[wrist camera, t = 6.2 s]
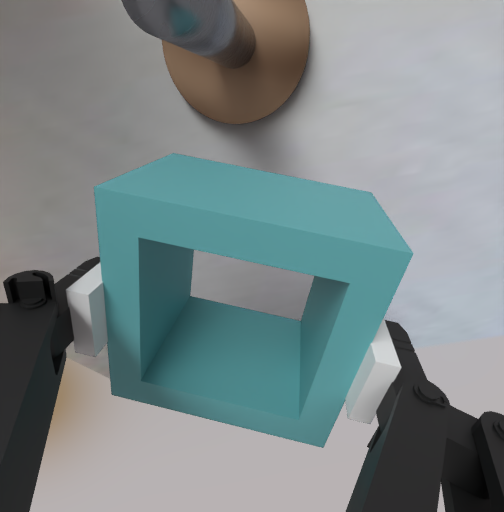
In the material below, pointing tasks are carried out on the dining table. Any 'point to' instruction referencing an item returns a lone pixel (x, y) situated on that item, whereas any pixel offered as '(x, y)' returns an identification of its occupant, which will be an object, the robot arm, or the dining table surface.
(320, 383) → the collar
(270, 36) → the post base
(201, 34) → the post
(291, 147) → the dining table surface
